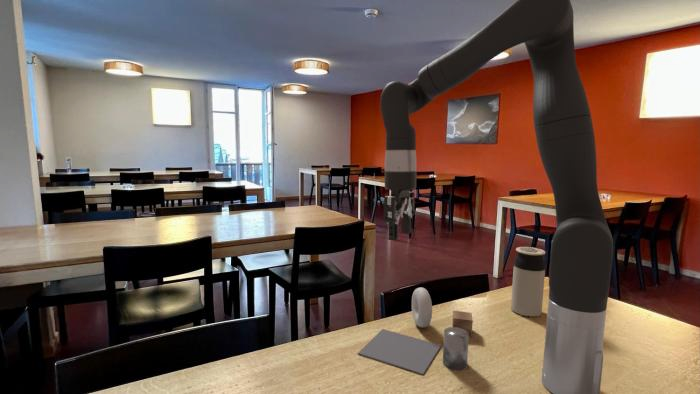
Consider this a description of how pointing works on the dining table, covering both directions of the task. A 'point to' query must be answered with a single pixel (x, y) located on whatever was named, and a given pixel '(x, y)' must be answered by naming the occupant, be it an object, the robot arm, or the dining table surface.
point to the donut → (421, 307)
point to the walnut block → (463, 321)
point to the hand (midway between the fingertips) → (399, 236)
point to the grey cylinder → (455, 348)
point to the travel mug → (528, 281)
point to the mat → (401, 351)
